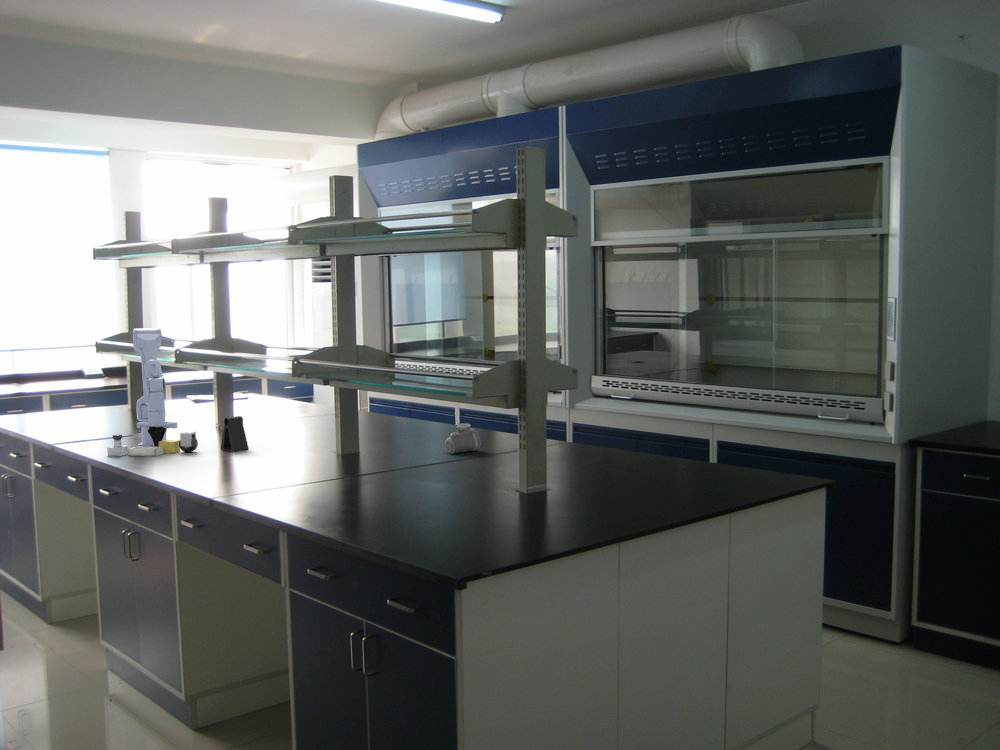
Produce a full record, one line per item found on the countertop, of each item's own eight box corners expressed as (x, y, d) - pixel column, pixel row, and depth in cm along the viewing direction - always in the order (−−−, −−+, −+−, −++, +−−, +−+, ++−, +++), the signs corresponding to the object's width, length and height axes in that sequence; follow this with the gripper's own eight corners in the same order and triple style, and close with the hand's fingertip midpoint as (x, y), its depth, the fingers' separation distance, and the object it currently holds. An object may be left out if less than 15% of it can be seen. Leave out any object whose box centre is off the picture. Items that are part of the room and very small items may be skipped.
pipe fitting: (469, 447, 328) (467, 420, 325) (482, 452, 321) (480, 424, 319) (442, 454, 321) (440, 427, 318) (454, 459, 314) (452, 431, 312)
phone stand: (220, 449, 330) (219, 416, 329) (234, 447, 334) (233, 415, 333) (234, 452, 324) (233, 419, 323) (248, 449, 328) (247, 417, 327)
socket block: (115, 453, 323) (115, 445, 322) (128, 453, 322) (128, 445, 322) (107, 455, 318) (107, 447, 318) (121, 456, 317) (120, 447, 317)
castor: (183, 450, 327) (182, 431, 326) (199, 451, 326) (198, 431, 325) (178, 453, 322) (177, 433, 322) (193, 453, 322) (193, 433, 321)
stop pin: (116, 453, 322) (115, 434, 321) (124, 454, 321) (123, 434, 321) (111, 455, 319) (110, 436, 318) (120, 455, 318) (119, 436, 318)
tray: (137, 452, 323) (137, 446, 323) (163, 453, 322) (163, 446, 322) (128, 455, 317) (128, 449, 317) (155, 456, 316) (155, 449, 316)
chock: (164, 450, 327) (163, 439, 327) (180, 451, 327) (179, 440, 326) (159, 452, 323) (158, 441, 323) (174, 452, 323) (174, 442, 322)
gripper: (131, 411, 321) (133, 449, 322) (170, 412, 319) (171, 449, 321) (141, 409, 328) (143, 446, 329) (179, 409, 326) (181, 446, 328)
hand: (158, 447), depth 325 cm, fingers closed
